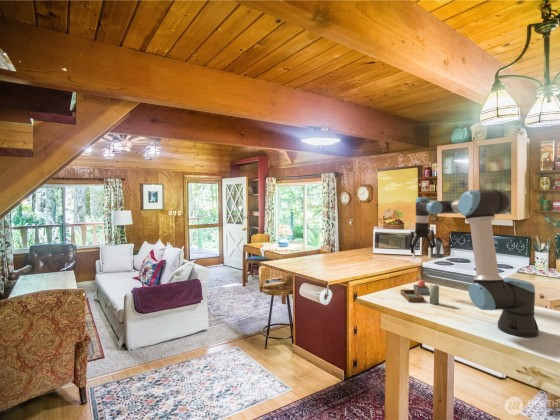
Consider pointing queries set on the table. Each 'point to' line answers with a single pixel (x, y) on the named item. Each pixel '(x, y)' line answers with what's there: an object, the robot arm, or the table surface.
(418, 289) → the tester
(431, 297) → the cell
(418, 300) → the wooden tray
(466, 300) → the table surface
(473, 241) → the robot arm
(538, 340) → the table surface
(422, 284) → the coral capsule
